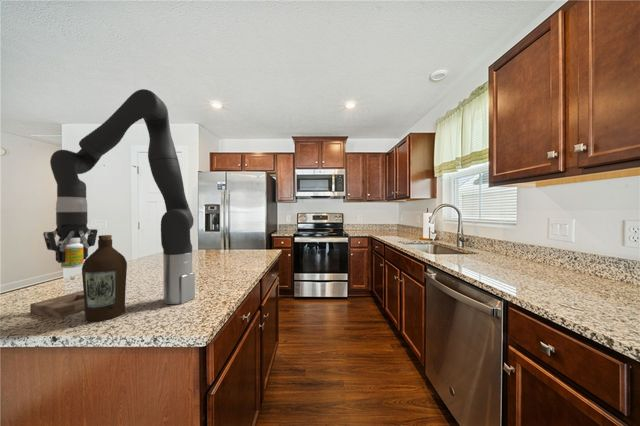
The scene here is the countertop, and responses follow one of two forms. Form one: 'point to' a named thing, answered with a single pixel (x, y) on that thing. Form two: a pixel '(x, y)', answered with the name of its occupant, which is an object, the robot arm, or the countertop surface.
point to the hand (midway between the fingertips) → (72, 260)
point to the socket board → (60, 306)
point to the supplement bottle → (73, 254)
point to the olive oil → (104, 282)
